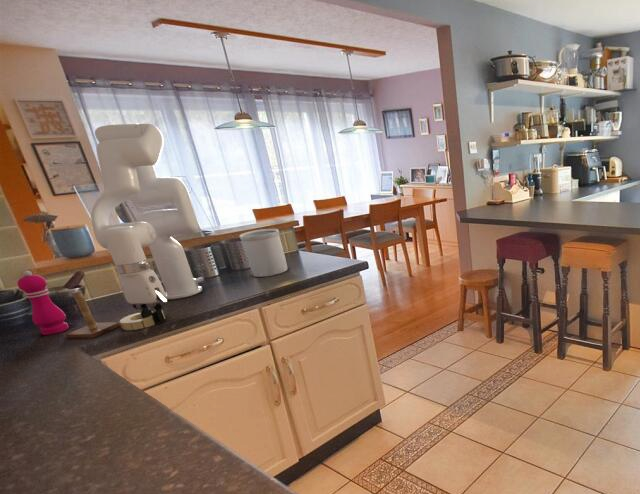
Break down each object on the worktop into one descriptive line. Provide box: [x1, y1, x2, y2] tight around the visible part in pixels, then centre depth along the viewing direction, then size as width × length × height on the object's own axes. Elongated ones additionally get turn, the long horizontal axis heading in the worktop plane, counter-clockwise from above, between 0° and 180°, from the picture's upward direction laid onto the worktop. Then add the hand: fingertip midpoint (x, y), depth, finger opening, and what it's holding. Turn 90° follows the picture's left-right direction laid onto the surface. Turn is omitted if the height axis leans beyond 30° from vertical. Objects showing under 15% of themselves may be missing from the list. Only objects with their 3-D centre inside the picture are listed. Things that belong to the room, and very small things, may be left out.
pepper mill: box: [17, 270, 70, 336], centre depth 134 cm, size 7×7×20 cm
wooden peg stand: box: [65, 290, 121, 339], centre depth 133 cm, size 9×9×13 cm
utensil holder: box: [238, 228, 288, 278], centre depth 186 cm, size 15×15×18 cm
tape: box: [118, 309, 166, 331], centre depth 139 cm, size 11×11×2 cm
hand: (155, 322), depth 139 cm, fingers closed on tape, 2 cm apart
